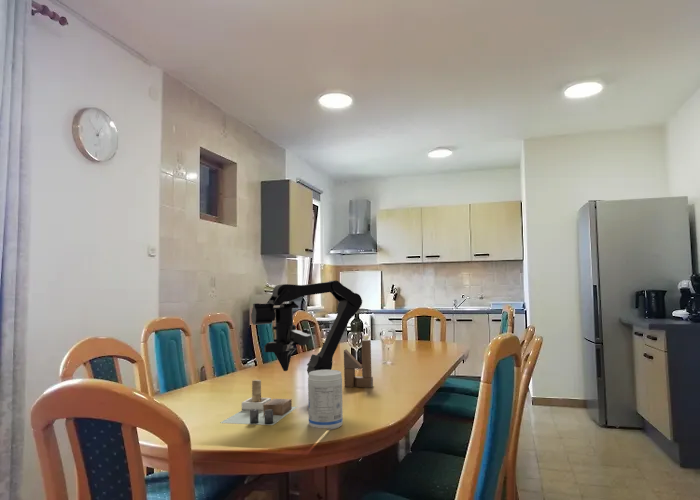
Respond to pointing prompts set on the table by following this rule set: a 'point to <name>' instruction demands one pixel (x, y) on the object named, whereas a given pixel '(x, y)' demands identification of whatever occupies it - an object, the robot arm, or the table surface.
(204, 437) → the table surface
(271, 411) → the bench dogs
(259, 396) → the dowel
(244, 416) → the mat
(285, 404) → the cardboard brown brick
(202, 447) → the table surface
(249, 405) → the tray
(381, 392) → the table surface
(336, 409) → the supplement tub
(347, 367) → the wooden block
